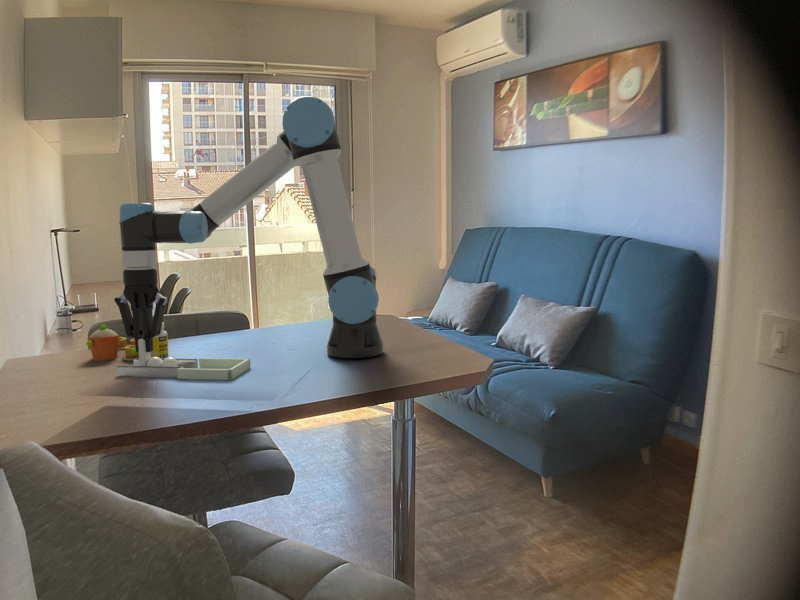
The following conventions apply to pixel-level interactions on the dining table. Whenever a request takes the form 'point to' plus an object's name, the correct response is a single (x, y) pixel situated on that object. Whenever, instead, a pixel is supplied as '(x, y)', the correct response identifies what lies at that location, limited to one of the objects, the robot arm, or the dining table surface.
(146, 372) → the slot rails
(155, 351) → the supplement bottle
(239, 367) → the tray
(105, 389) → the dining table surface
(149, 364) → the chip ball
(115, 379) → the dining table surface
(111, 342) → the toy tea set
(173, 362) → the chip ball
